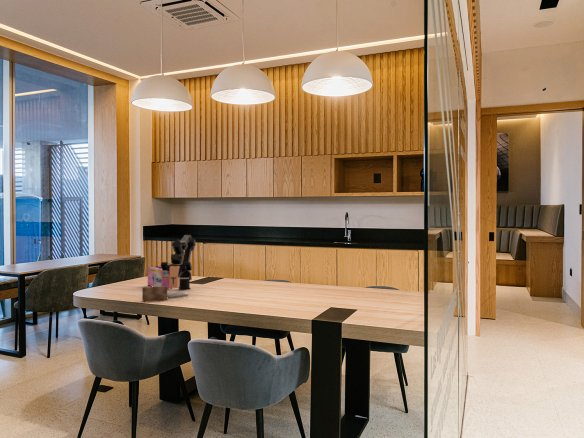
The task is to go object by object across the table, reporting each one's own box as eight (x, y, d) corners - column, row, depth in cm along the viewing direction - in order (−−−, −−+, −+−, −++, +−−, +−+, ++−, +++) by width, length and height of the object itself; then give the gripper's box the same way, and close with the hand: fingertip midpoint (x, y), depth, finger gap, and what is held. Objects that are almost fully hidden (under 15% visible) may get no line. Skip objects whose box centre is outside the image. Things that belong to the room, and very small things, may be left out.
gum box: (146, 285, 323) (146, 266, 322) (156, 284, 328) (156, 265, 328) (162, 289, 305) (162, 269, 305) (172, 288, 311) (172, 268, 310)
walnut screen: (167, 298, 273) (166, 285, 273) (167, 300, 268) (167, 286, 268) (142, 300, 269) (142, 286, 269) (142, 301, 264) (142, 288, 264)
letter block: (171, 286, 286) (172, 265, 285) (179, 286, 286) (179, 266, 285) (169, 287, 280) (169, 266, 280) (177, 288, 280) (177, 267, 280)
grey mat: (179, 293, 291) (179, 291, 291) (187, 295, 282) (187, 294, 282) (161, 295, 284) (161, 293, 284) (169, 298, 275) (169, 296, 275)
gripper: (161, 249, 287) (156, 269, 276) (190, 249, 286) (186, 268, 276) (165, 260, 295) (160, 279, 284) (193, 260, 294) (189, 279, 284)
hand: (174, 276), depth 282 cm, fingers closed on letter block, 5 cm apart
